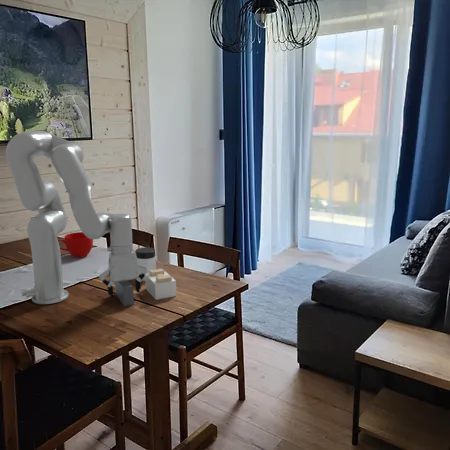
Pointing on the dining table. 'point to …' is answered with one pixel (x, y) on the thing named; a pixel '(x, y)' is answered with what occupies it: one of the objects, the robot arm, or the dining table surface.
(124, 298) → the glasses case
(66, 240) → the ceramic cup
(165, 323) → the dining table surface
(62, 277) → the robot arm
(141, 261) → the jar
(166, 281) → the white toaster
